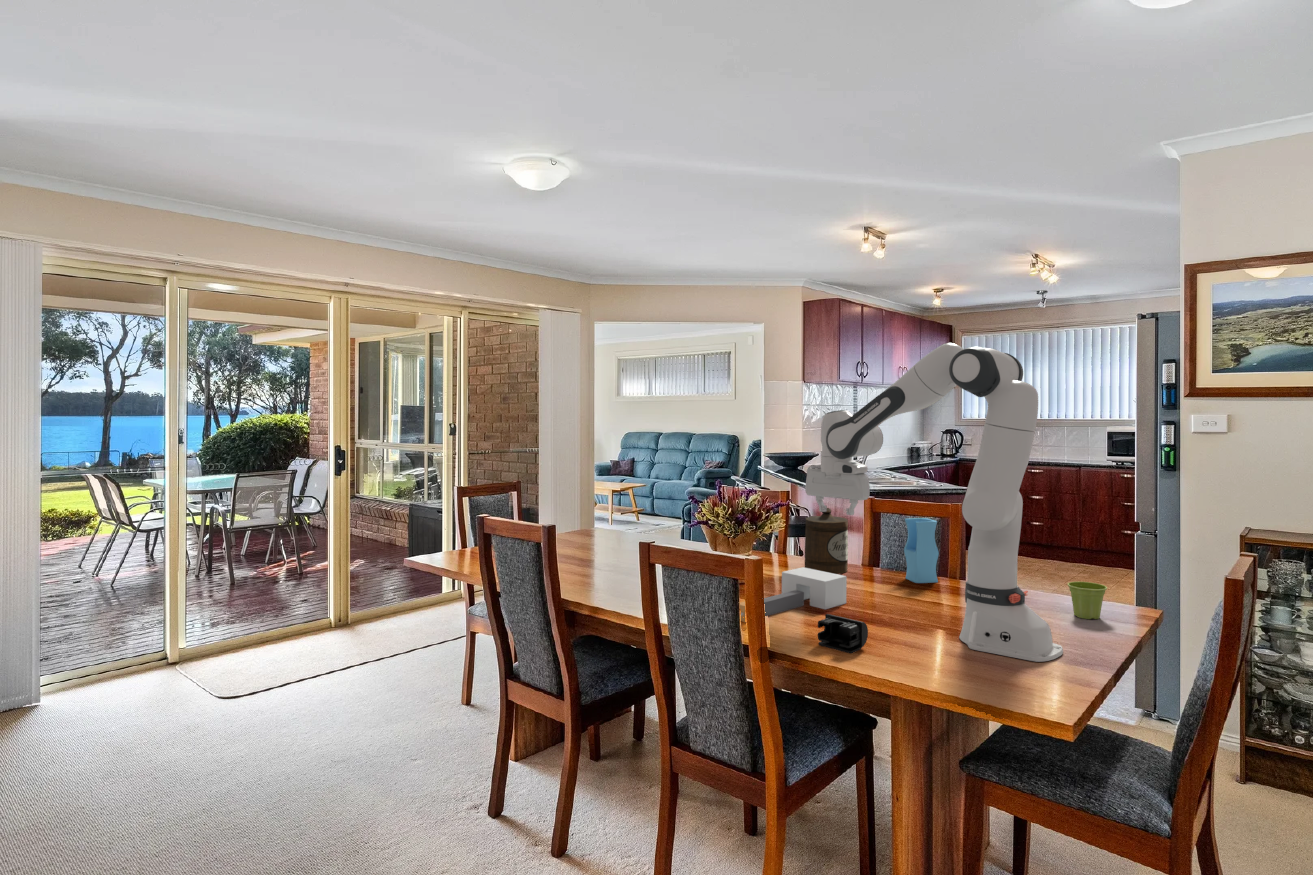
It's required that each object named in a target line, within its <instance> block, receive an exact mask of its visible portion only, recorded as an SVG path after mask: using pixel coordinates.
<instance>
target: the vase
mask: <svg viewBox="0 0 1313 875" xmlns="http://www.w3.org/2000/svg"><path fill="white" fill-rule="evenodd" d="M904 522H905V525H906V528H907V540H906V543H905V545H904V548H903V552H904V557H905V561H906V574H905V579H906V580H909V581H910V582H912V583H915V584H928V583H929V584H930V583H931V584H932V583H939V579H938V576H937V563H938V559H939V555H940V552H939V548H938V546H937V543H936V537H935V536H936V534H935V533H936V528H937V524H938V521H937V520H934V519H931V518H926V517H919V518H918V517H917V518H914V517H913V518H904Z"/></svg>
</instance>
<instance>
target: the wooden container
mask: <svg viewBox="0 0 1313 875" xmlns="http://www.w3.org/2000/svg"><path fill="white" fill-rule="evenodd" d="M826 509H827V511H826V512H821V513H822V514H821V515H812V516H807V517H805V534H804V535H805V536H804V538H805V539H804V568H809V569H814V570H819V571H824V572H829V573H833V574H838V575H842V574H844V573H847V572H848V568H849V567H848V562H849V560H848V559H849V556H848V555H849V543H848V542H849V540H848V538H849V532H848V531H849V530H848V528H849V520H848V519H847V518H846V517H841V516H833V515H832V514H831V513H832V509H831V508H829V507H827V508H826Z"/></svg>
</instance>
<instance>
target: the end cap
mask: <svg viewBox="0 0 1313 875" xmlns="http://www.w3.org/2000/svg"><path fill="white" fill-rule="evenodd" d="M817 628H818V629H820V628H824V629H823V630H822V631H819V632H817V640H819V642H818V646H820V647H823V648H828V649H831V650H836V651H839V652H843V653H846V654H855V653H856V652H858V651H860V650H861V649H862V648H864V646H865V645H866V643H867V641H868V636H869V629H868V625H867V624H866V623H865V622H864V621H859V620H856V619H851V618H847V617H843V616H839V615H834V614H830V613H826V614H825V615H824V619H820V620H818V621H817Z"/></svg>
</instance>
